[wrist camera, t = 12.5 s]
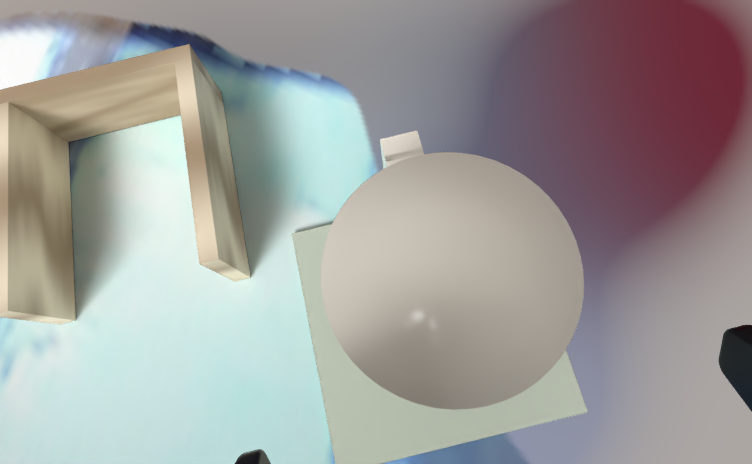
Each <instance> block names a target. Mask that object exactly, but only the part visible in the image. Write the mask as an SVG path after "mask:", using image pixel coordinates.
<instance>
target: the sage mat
mask: <svg viewBox="0 0 752 464" xmlns="http://www.w3.org/2000/svg"><path fill="white" fill-rule="evenodd" d="M331 226H332V224H330V225H326V226H321V227H317V228H313V229H309V230H305V231H301V232H297V233H293V234H292V237H293V242H294V247H295V253H296V258H297V263H298V269H299V274H300V279H301V284H302V290H303V295H304V300H305V306H306V311H307V316H308V321H309V327H310V332H311V337H312V343H313V348H314V353H315V358H316V364H317V369H318V374H319V379H320V385H321V390H322V395H323V401H324V406H325V411H326V416H327V422H328V427H329V432H330V438H331V443H332V448H333V453H334V459H335V464H381V463H385V462H389V461H393V460H397V459H401V458H405V457H409V456H413V455H417V454H422V453H426V452H430V451H434V450H438V449H442V448H446V447H450V446H454V445H458V444H462V443H466V442H470V441H474V440H478V439H482V438H486V437H490V436H494V435H498V434H502V433H506V432H510V431H514V430H518V429H522V428H526V427H530V426H534V425H538V424H542V423H547V422H550V421H555V420H559V419H562V418H567V417H571V416H574V415H579V414H582V413H587V412H588V411H587V408H586V405H585V403H584V400H583V397H582V394H581V391H580V388H579V385H578V382H577V380H576V377H575V374H574V371H573V368H572V365H571V362H570V359H569V356H568V354H567V351H566V350H565V352H564V353H563V355H562V357H561V358H560V359H559V360H558V361H557V363H556V364H555V365H554V366H553V368H552V369H551V370H550V371H549V372H548V373H547V374H546V375H545V376H543V377H542V378H541V379H540V380H539V381H538V382H537V383H535V384H534V385H532V386H531V387H529V388H528V389H526V390H525V391H524V392H522V393H520V394H518V395H516V396H514V397H512V398H510V399H508V400H505V401H502V402H499V403H496V404H493V405H490V406H485V407H479V408H474V409H457V410H450V409H441V408H432V407H428V406H424V405H420V404H416V403H413V402H411V401H408V400H406V399H403V398H401V397H398V396H396V395H394V394H393V393H391V392H389V391H387V390H386V389H384V388H382V387H381V386H379V385H378V384H377V383H375V382H374V381H373V380H371V379H370V378H369V377H367V376H366V375H365V374H364V373H363V372H362V371H361V370H360V369H359V368H358V367H357V366H356V365H355V364H354V363H353V362H352V360H351V359H350V358H349V356H348V355H347V354H346V353H345V351H344V350H343V348H342V347H341V345H340V343H339V342H338V340H337V338H336V336H335V335H334V333H333V330H332V328H331V325H330V323H329V321H328V318H327V315H326V311H325V307H324V304H323V298H322V291H321V263H322V255H323V250H324V246H325V242H326V239H327V236H328V233H329V231H330V228H331Z"/></svg>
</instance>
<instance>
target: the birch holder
mask: <svg viewBox="0 0 752 464" xmlns="http://www.w3.org/2000/svg"><path fill="white" fill-rule="evenodd" d="M179 115H181V118H182V127H183V135H184V143H185V151H186V159H187V167H188V175H189V183H190V191H191V199H192V207H193V215H194V223H195V231H196V239H197V247H198V255H199V263H200V264H201V265H203V266H205V267H207V268H209V269H211V270H213V271H215V272H217V273H219V274H221V275H223V276H225V277H227V278H229V279H231V280H233V281H239V280H243V279H247V278H251V277H250V270H249V264H248V257H247V251H246V245H245V238H244V232H243V226H242V219H241V213H240V206H239V200H238V194H237V187H236V181H235V175H234V168H233V162H232V155H231V149H230V143H229V136H228V130H227V124H226V117H225V111H224V104H223V98H222V92H221V91H220V89H219V88H218V86H217V85H216V83H215V82H214V80H213V79H212V77H211V76H210V74H209V73H208V71H207V70H206V68H205V67H204V65H203V64H202V63H201V61H200V60H199V58H198V57H197V55H196V54H195V52H194V51H193V49H192V48H191V46H190V45H189V44H188V45H184V46H179V47H175V48H171V49H167V50H163V51H159V52H155V53H150V54H146V55H142V56H138V57H134V58H130V59H126V60H121V61H117V62H113V63H109V64H105V65H101V66H97V67H93V68H88V69H84V70H80V71H76V72H72V73H68V74H64V75H59V76H55V77H51V78H47V79H43V80H39V81H35V82H31V83H26V84H22V85H18V86H14V87H10V88H6V89H2V90H0V317H4V318H12V319H20V320H28V321H37V322H45V323H53V324H63V323H67V322H72V321H76V314H75V289H74V264H73V240H72V215H71V190H70V165H69V142H71V141H76V140H80V139H84V138H88V137H92V136H96V135H100V134H104V133H109V132H113V131H117V130H121V129H125V128H129V127H133V126H137V125H141V124H146V123H150V122H154V121H158V120H162V119H166V118H170V117H174V116H179Z"/></svg>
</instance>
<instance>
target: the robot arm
mask: <svg viewBox="0 0 752 464" xmlns="http://www.w3.org/2000/svg"><path fill="white" fill-rule="evenodd" d="M719 365H720V368H721V370H722V372H723V374H724V375H725V376H726V378H727V379H728V380H729V382H730V383H731V384H732V386H733V387H734V388H735V390H736V391H737V393H738V394H739V395H740V397H741V398H742V399H743V400H744V402H745V403H746V404H747V406H748V407H749V409H750V410H751V411H752V325H742V326H739V327H735V328H731V329H728V330H726V332H725V333H724V335H723V340H722V345H721V350H720V355H719ZM235 464H271V463H270V461H269V459H268V457H267V455H266V453H265V452H264V451H263V450H261V449H258V450H254V451H250V452H246V453H243V454H242V455H240V456H239V457H238V459H237V461H236V462H235Z"/></svg>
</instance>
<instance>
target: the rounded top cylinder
mask: <svg viewBox="0 0 752 464" xmlns="http://www.w3.org/2000/svg"><path fill="white" fill-rule="evenodd" d="M380 142H381V152H382V160H383V170H381V171H379V172H378V173H376V174H374V175H373V176H372V177H370V178H369V179H368V180H367V181H365V182H364V183H363V184H362V185H361V186H360V187H359V188H358V189H357V190H356V191H355V192H354V193H353V194H352V195H351V196H350V197H349V198H348V200H347V201H346V202H345V204H344V205H343V206H342V208H341V209H340V211H339V213H338V214H337V216H336V218H335V220H334V221H333V223H332V226H331V228H330V231H329V233H328V236H327V239H326V242H325V246H324V250H323V255H322V263H321V291H322V298H323V304H324V307H325V311H326V315H327V318H328V321H329V323H330V325H331V328H332V330H333V333H334V335H335V336H336V338H337V340H338V342H339V343H340V345H341V347H342V348H343V350H344V351H345V353H346V354H347V355H348V356H349V358H350V359H351V360H352V362H353V363H354V364H355V365H356V366H357V367H358V368H359V369H360V370H361V371H362V372H363V373H364V374H365V375H366V376H367V377H369V378H370V379H371V380H373V381H374V382H375V383H377V384H378V385H379V386H381V387H382V388H384V389H386V390H387V391H389V392H391V393H393V394H394V395H396V396H398V397H401V398H403V399H406V400H408V401H411V402H413V403H416V404H420V405H424V406H428V407H432V408H441V409H450V410H457V409H474V408H479V407H485V406H490V405H493V404H496V403H499V402H502V401H505V400H508V399H510V398H512V397H514V396H516V395H518V394H520V393H522V392H524V391H525V390H526V389H528V388H529V387H531V386H532V385H534V384H535V383H537V382H538V381H539V380H540V379H541V378H542V377H543V376H545V375H546V374H547V373H548V372H549V371H550V370H551V369H552V368H553V366H554V365H555V364H556V363H557V361H558V360H559V359H560V358H561V357H562V355H563V353H564V352H565V350H566V348H567V347H568V345H569V343H570V341H571V340H572V337H573V335H574V332H575V330H576V328H577V325H578V321H579V318H580V314H581V310H582V303H583V295H584V273H583V267H582V261H581V255H580V252H579V249H578V246H577V242H576V239H575V237H574V235H573V233H572V230H571V228H570V226H569V224H568V222H567V221H566V219H565V218H564V216H563V214H562V213H561V211H560V210H559V208H558V207H557V206H556V205H555V203H554V202H553V201H552V200H551V198H550V197H549V196H548V195H547V194H546V193H545V192H544V191H543V190H542V189H540V187H539V186H538V185H536V184H535V183H534V182H532V181H531V180H530V179H528V178H527V177H526V176H524V175H523V174H521V173H519V172H518V171H516V170H514V169H513V168H511V167H509V166H507V165H504V164H502V163H500V162H497V161H495V160H492V159H488V158H485V157H482V156H478V155H472V154H466V153H455V152H442V153H441V152H440V153H429V154H424V152H423V149H422V146H421V142H420V138H419V135H418V132H417V131H413V132H409V133H404V134H400V135H396V136H392V137H388V138H384V139H380Z"/></svg>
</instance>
